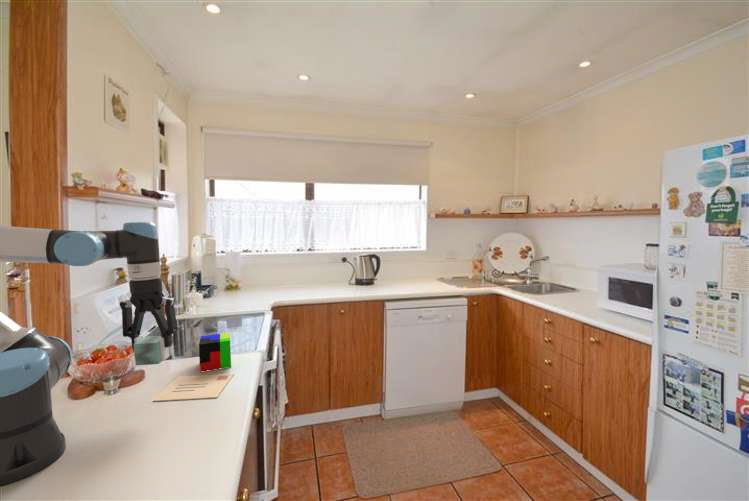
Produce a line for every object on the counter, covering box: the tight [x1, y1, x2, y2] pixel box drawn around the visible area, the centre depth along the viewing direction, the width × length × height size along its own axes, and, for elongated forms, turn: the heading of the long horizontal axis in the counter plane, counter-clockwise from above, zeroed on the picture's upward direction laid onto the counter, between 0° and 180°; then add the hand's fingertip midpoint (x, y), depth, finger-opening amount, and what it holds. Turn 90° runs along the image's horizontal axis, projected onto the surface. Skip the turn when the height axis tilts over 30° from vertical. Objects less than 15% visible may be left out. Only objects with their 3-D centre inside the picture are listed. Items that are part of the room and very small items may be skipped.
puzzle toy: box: [198, 332, 232, 373], centre depth 124 cm, size 10×10×10 cm
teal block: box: [133, 335, 171, 367], centre depth 95 cm, size 6×6×6 cm
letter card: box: [152, 373, 235, 403], centre depth 107 cm, size 18×16×1 cm
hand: (153, 358), depth 95 cm, fingers closed on teal block, 6 cm apart
